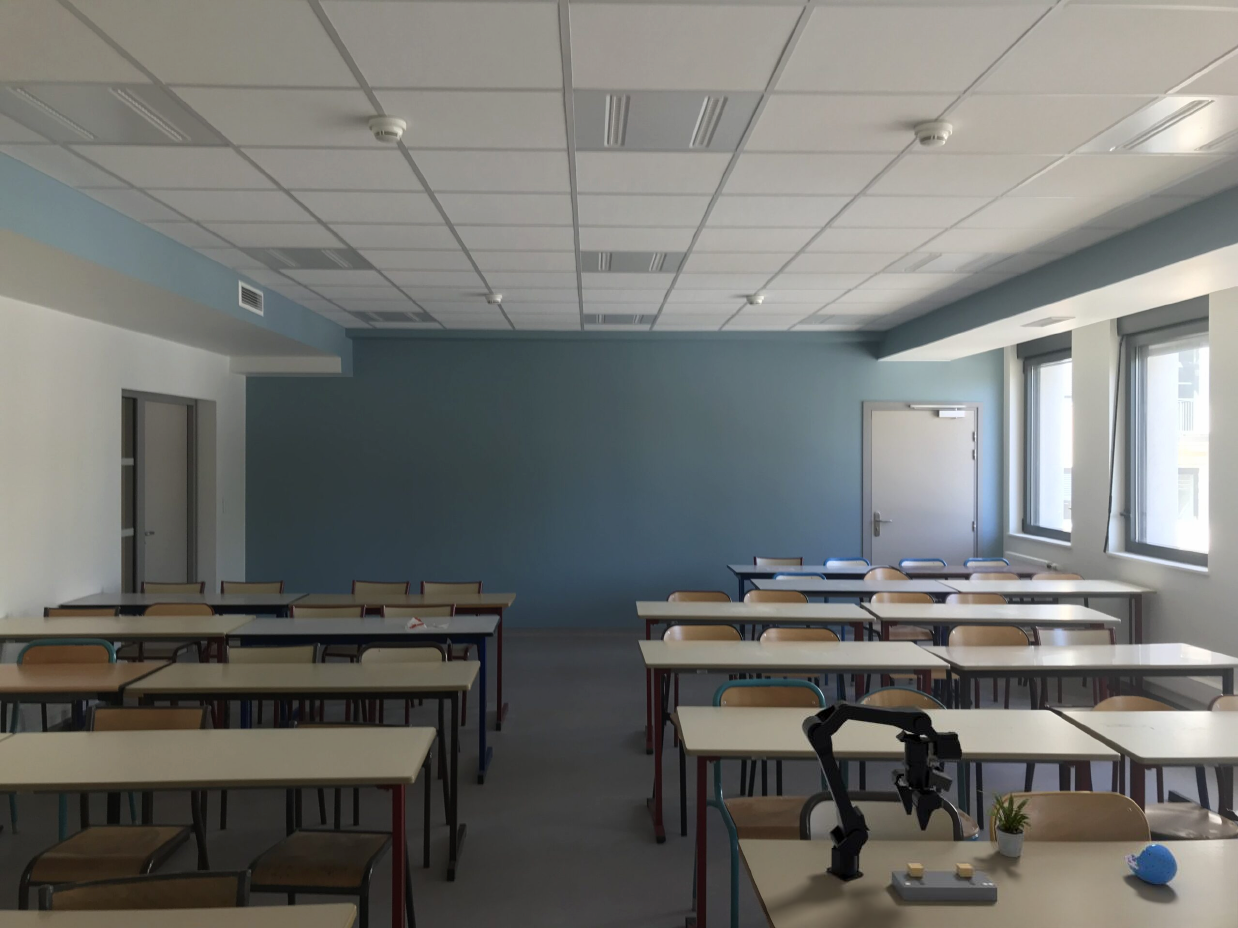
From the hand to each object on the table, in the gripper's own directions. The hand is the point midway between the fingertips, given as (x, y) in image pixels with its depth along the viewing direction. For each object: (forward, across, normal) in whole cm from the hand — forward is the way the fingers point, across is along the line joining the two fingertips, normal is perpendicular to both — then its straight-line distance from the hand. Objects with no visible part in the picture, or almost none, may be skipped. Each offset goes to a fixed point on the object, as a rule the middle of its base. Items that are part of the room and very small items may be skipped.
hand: (915, 822), depth 201 cm
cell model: (+13, -2, -57) cm, 59 cm away
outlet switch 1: (+10, -6, +2) cm, 12 cm away
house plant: (+13, +12, -29) cm, 34 cm away
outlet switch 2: (+10, -6, -10) cm, 15 cm away
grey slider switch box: (+13, -8, -4) cm, 16 cm away
